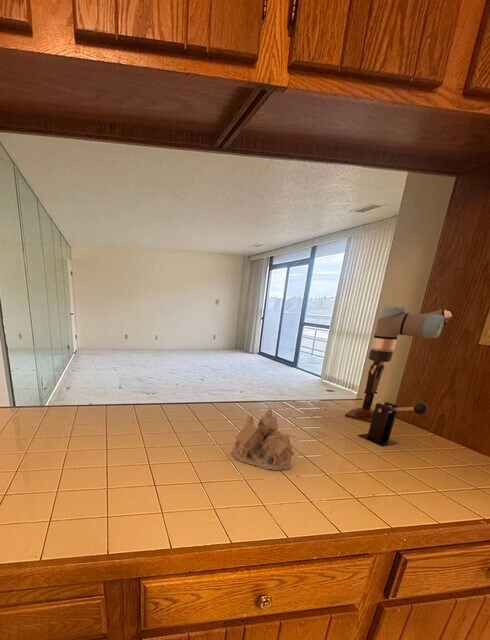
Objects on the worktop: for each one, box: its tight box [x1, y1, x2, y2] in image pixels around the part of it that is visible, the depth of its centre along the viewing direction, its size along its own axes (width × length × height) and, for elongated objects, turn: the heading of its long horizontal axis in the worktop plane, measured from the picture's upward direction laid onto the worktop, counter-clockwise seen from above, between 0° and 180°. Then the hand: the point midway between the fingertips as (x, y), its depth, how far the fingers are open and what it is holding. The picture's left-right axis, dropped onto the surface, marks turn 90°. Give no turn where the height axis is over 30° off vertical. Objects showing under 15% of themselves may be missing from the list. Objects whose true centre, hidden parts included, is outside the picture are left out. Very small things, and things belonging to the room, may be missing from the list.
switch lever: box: [389, 402, 429, 415], centre depth 110 cm, size 14×4×4 cm, turn 22°
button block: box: [344, 407, 375, 424], centre depth 140 cm, size 12×10×4 cm
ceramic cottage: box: [230, 407, 295, 471], centre depth 103 cm, size 16×16×15 cm
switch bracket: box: [357, 401, 400, 448], centre depth 117 cm, size 10×8×14 cm
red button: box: [360, 407, 373, 413], centre depth 140 cm, size 4×4×2 cm
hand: (366, 409), depth 139 cm, fingers closed
